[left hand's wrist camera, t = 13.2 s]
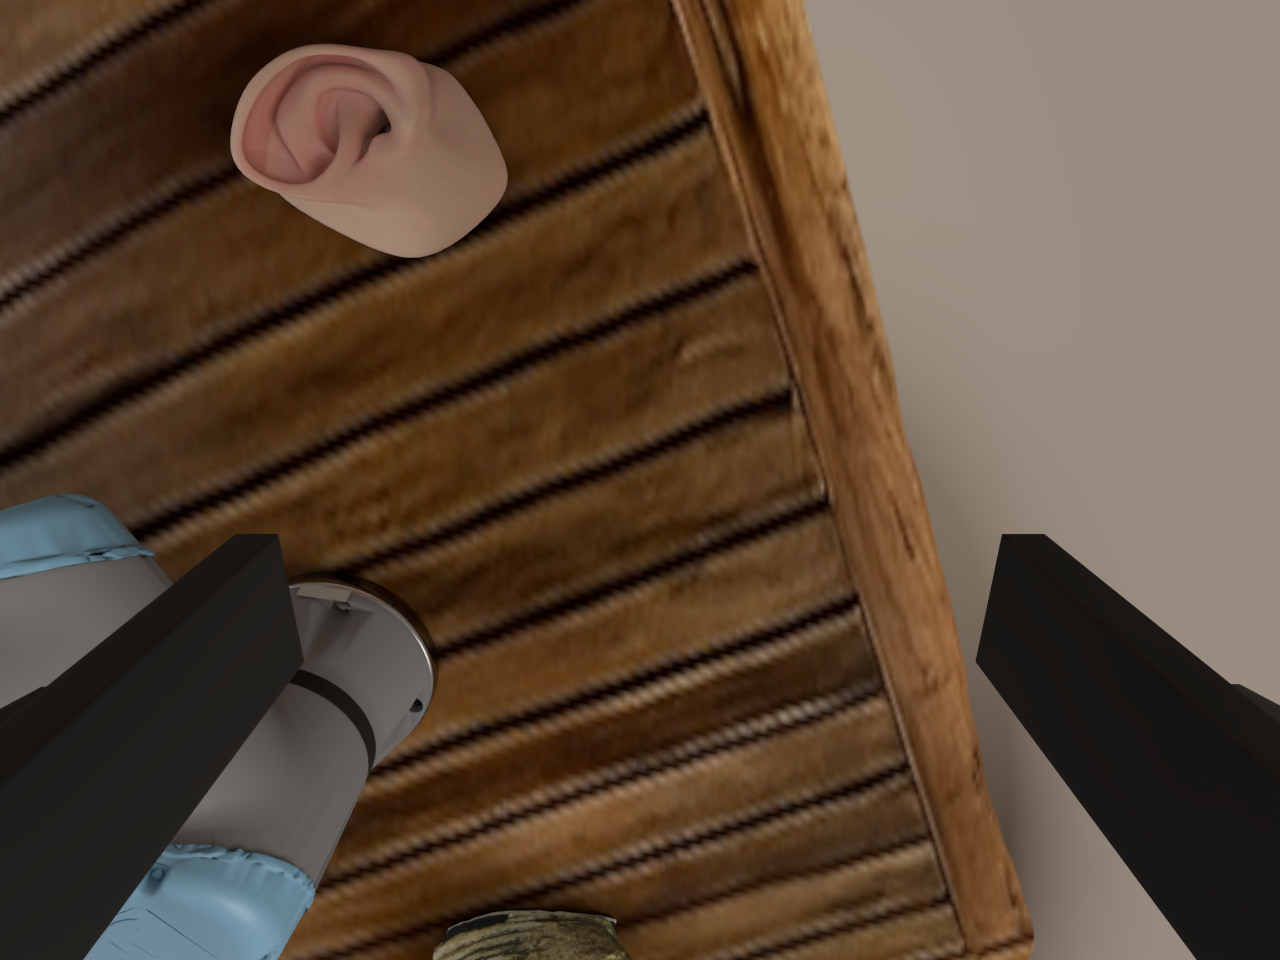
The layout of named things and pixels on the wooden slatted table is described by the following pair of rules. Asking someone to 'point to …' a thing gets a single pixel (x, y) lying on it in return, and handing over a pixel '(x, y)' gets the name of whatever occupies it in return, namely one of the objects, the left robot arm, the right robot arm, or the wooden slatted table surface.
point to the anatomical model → (370, 146)
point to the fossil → (532, 937)
